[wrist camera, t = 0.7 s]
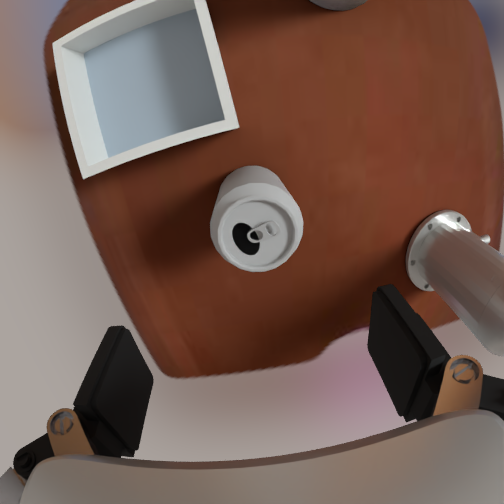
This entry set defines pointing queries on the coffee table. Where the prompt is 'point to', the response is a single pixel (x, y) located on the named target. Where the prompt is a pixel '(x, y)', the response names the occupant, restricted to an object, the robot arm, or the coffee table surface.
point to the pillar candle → (339, 4)
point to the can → (255, 220)
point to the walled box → (142, 82)
